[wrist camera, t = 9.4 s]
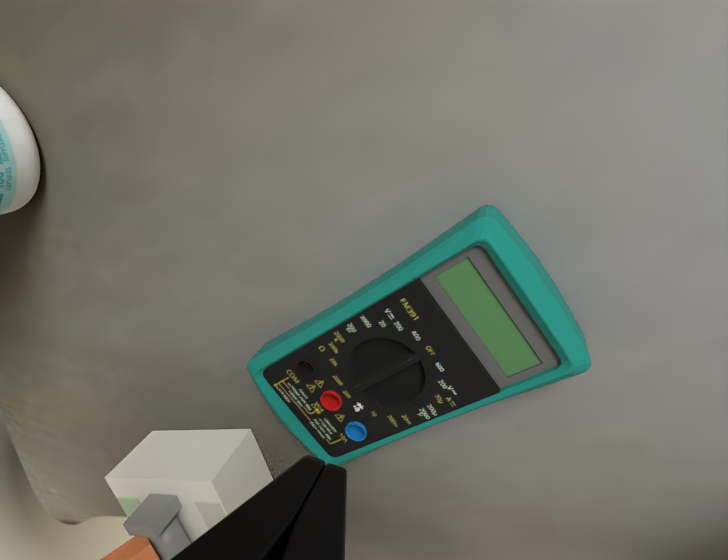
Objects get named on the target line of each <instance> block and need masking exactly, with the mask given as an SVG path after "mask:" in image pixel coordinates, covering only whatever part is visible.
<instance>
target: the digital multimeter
mask: <svg viewBox="0 0 728 560" xmlns="http://www.w3.org/2000/svg"><path fill="white" fill-rule="evenodd" d="M414 280H415V281H414ZM409 283H410V284H409ZM407 284H408V285H407ZM402 287H403V288H402ZM397 290H398V291H397ZM392 293H393V294H392ZM390 294H391V295H390ZM387 296H388V297H387ZM385 297H386V298H385ZM382 299H383V300H382ZM380 300H381V301H380ZM375 303H376V304H375ZM370 306H371V307H370ZM365 309H366V310H365ZM360 312H361V313H360ZM358 313H359V314H358ZM353 316H354V317H353ZM348 319H349V320H348ZM343 322H344V323H343ZM338 325H339V326H338ZM333 328H334V329H333ZM331 329H332V330H331ZM326 332H327V333H326ZM321 335H322V336H321ZM316 338H317V339H316ZM314 339H315V340H314ZM359 339H360V340H359ZM311 341H312V342H311ZM309 342H310V343H309ZM304 345H305V346H304ZM299 348H300V349H299ZM349 348H350V349H349ZM297 349H298V350H297ZM294 351H295V352H294ZM292 352H293V353H292ZM289 354H290V355H289ZM287 355H288V356H287ZM284 357H285V358H284ZM282 358H283V359H282ZM277 361H278V362H277ZM590 365H591V360H590V356H589V352H588V349H587V345H586V341H585V338H584V335H583V333H582V331H581V329H580V327H579V325H578V323H577V322H576V320H575V318H574V316H573V314H572V312H571V311H570V309H569V307H568V305H567V304H566V302H565V300H564V299H563V297H562V295H561V293H560V292H559V290H558V288H557V287H556V285H555V283H554V282H553V280H552V279H551V277H550V276H549V274H548V273H547V271H546V270H545V269H544V267H543V266H542V264H541V263H540V261H539V260H538V258H537V257H536V256H535V254H534V253H533V252H532V250H531V249H530V248H529V247H528V245H527V244H526V243H525V241H524V240H523V239H522V237H521V236H520V235H519V234H518V232H517V231H516V230H515V229H514V228H513V226H512V225H511V224H510V223H509V221H508V220H507V219H506V218H505V217H504V215H503V214H502V213H501V212H500V211H499V210H498V209H497V208H496V207H495V206H490V205H486V206H483V207H480V208H479V209H477V210H476V211H475V212H473V213H472V214H470V215H469V216H467V217H466V218H465V219H463V220H462V221H460V222H459V223H457V224H456V225H455V226H453V227H452V228H450V229H449V230H447V231H446V232H444V233H443V234H442V235H440V236H439V237H437V238H436V239H434V240H433V241H432V242H430V243H429V244H427V245H426V246H424V247H423V248H422V249H420V250H419V251H417V252H416V253H414V254H413V255H411V256H410V257H409V258H407V259H406V260H404V261H403V262H401V263H400V264H398V265H397V266H395V267H394V268H392V269H390V270H389V271H387V272H386V273H384V274H383V275H381V276H380V277H378V278H377V279H375V280H373V281H372V282H370V283H369V284H367V285H366V286H364V287H363V288H361V289H359V290H358V291H356V292H355V293H353V294H352V295H350V296H349V297H347V298H345V299H343V300H342V301H340V302H338V303H337V304H335V305H333V306H331V307H330V308H328V309H326V310H325V311H323V312H321V313H319V314H318V315H316V316H314V317H313V318H311V319H309V320H307V321H306V322H304V323H302V324H301V325H299V326H297V327H295V328H293V329H291V330H289V331H288V332H286V333H284V334H282V335H280V336H278V337H277V338H275V339H273V340H271V341H269V342H267V343H266V344H265V345H264V346H263V347H262V348H261V349H260V350H259V351H258V352H257V353H256V354H255V355H254V356H253V357H252V358H251V359H250V360H249V362H248V363H247V369H248V371H249V373H250V375H251V376H252V378H253V380H254V382H255V383H256V385H257V387H258V389H259V390H260V392H261V394H262V395H263V397H264V398H265V400H266V401H267V403H268V405H269V406H270V408H271V409H272V411H273V412H274V413H275V415H276V416H277V417H278V418H279V419H280V421H281V422H282V423H283V424H284V425H285V427H286V428H287V429H288V430H289V431H290V432H291V433H292V434H293V435H294V436H295V437H296V438H297V439H298V440H299V441H300V442H302V443H303V444H304V445H305V446H306V447H307V448H308V449H309V450H310V451H311V452H312V453H314V454H315V455H316V456H317V457H318V458H319V459H321V460H323V461H325V463H326V464H328V463H331V464H334V465H337V466H341V465H343V464H345V463H347V462H349V461H351V460H354V459H356V458H358V457H360V456H362V455H364V454H367V453H369V452H371V451H373V450H375V449H377V448H380V447H382V446H384V445H387V444H389V443H391V442H394V441H396V440H398V439H401V438H403V437H405V436H408V435H410V434H412V433H415V432H417V431H419V430H422V429H424V428H426V427H429V426H431V425H434V424H437V423H439V422H442V421H445V420H448V419H450V418H453V417H456V416H458V415H461V414H464V413H466V412H469V411H472V410H474V409H477V408H480V407H482V406H485V405H488V404H490V403H493V402H496V401H499V400H502V399H505V398H509V397H512V396H515V395H518V394H521V393H524V392H527V391H530V390H533V389H536V388H539V387H542V386H545V385H548V384H551V383H554V382H557V381H560V380H563V379H566V378H569V377H572V376H575V375H578V374H581V373H584V372H585V371H586V370H588V369H589V368H590ZM428 385H429V386H428ZM426 391H427V392H426ZM422 397H423V398H422ZM421 398H422V399H421ZM411 405H412V406H411Z"/></svg>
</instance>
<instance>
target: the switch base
mask: <svg viewBox="0 0 728 560" xmlns="http://www.w3.org/2000/svg"><path fill="white" fill-rule="evenodd" d="M105 480H106V481H107V483H108V485H109V486H110V488H111V490H112V491H113V493H114V495H115V496H116V498H117V500H118V501H119V503H120V505H121V506H122V508H123V510H124V511H125V513H126V515H127V516H128V519H127V520H126V521H125V523H124V524H123V525H124V527H125V528H126V530H127V532H128V533H129V535H134V536H144V537H154V538H157V537H158V536H159V535H160V534H161V532H162V531H163V530H164V528H165V527H166V526H167V525H168V523H169V522H170V521H171V519H172V518H173V517H174V516H175V515H176V517H177V519H178V521H179V523H180V524H181V526H182V528H183V530H184V532H185V534H186V535H187V537H188V539H189V541H190V543H192V542H193V541H195V540H196V539H197V538H199V537H200V536H201V535H203V534H204V533H205V532H206V531H208V530H209V529H210V528H212V527H213V526H214V525H216V524H217V523H218V522H219V521H221V520H222V519H223V518H225V517H226V516H227V515H229V514H230V513H231V512H232V511H234V510H235V509H236V508H238V507H239V506H240V505H242V504H243V503H244V502H245V501H247V500H248V499H249V498H251V497H252V496H253V495H255V494H256V493H257V492H258V491H260V490H261V489H262V488H264V487H265V486H266V485H268V484H269V483H270V482H271V481H273V478H272V476H271V473H270V471H269V469H268V467H267V464H266V462H265V460H264V458H263V455H262V453H261V451H260V448H259V446H258V444H257V442H256V439H255V437H254V435H253V433H252V430H251V429H215V430H168V431H152V432H151V433H150V434H149V435H148V436H147V437H146V438H145V439H144V440H143V441H142V442H141V443H139V444H138V445H137V446H136V447H135V448H134V449H133V450H132V451H131V452H130V453H129V454H128V455H127V456H126V457H125V458H124V459H123V460H122V461H121V462H120V463H119V464H118V465H117V466H116V467H115V468H114V469H113V470H112V471H111V472H110V473H109V474H108V475H107V476H106V477H105Z"/></svg>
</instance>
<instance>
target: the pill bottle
mask: <svg viewBox="0 0 728 560" xmlns="http://www.w3.org/2000/svg"><path fill="white" fill-rule="evenodd" d="M39 178H40V158H39V152H38V148H37V144H36V141H35V138H34V135H33V133H32V130H31V128H30V126H29V124H28V122H27V120H26V118H25V117H24V115H23V113H22V112H21V110H20V109H19V107H18V106H17V105H16V103H15V102H14V101H13V99H12V98H11V97H10V96H9V95H8V94H7V93H6V92H5V91H4V90H3V89H2V88H1V87H0V215H1V214H5V213H9V212H13V211H15V210H18V209H20V208H21V207H23V206H24V205H25V204H27V203H28V202H29V201H30V199H31V198H32V197H33V195H34V194H35V192H36V189H37V187H38V183H39Z"/></svg>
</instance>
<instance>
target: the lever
mask: <svg viewBox="0 0 728 560" xmlns="http://www.w3.org/2000/svg"><path fill="white" fill-rule="evenodd" d="M189 544H191V543H190V541H189V539H188V537H187V535H186V534H185V532H184V530H183V528H182V526H181V524H180V523H179V521H178V519H177V517H176V515H175V516H174V517H173V518H172V519H171V521H170V522H169V523H168V525H167V526H166V527H165V528H164V530H163V531H162V532H161V534H160V535H159V536H158V537H157V538H154V537H144V536H135V537H133V538H132V539H130V540H129V541H127V542H126V543H125V544H123V545H122V546H120V547H119V548H117V549H116V550H114V551H113V552H111V553H110V554H108V555H107V556H106V557H104V558H103V559H101V560H170V559H171V558H173V557H174V556H175V555H176V554H178V553H179V552H180V551H182V550H183V549H184V548H186V547H187V546H188V545H189Z"/></svg>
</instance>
